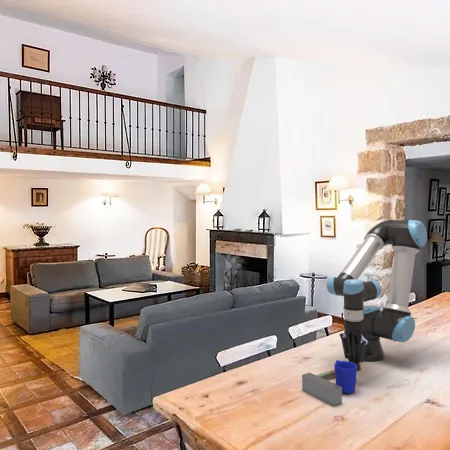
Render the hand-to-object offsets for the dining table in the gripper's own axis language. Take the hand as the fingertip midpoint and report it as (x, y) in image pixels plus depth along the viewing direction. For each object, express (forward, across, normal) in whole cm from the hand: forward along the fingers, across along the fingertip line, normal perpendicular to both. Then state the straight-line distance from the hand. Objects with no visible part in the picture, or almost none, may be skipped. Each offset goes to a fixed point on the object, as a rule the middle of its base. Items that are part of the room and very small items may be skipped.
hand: (354, 378), depth 169 cm
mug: (+2, +2, -8) cm, 9 cm away
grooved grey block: (+1, +2, -20) cm, 20 cm away
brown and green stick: (+2, -8, -3) cm, 9 cm away
